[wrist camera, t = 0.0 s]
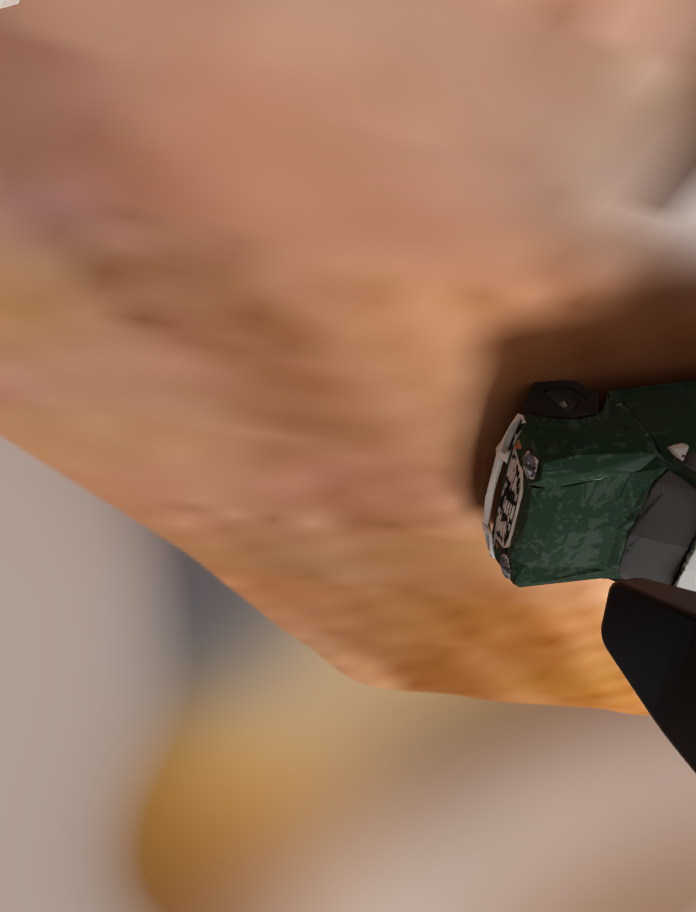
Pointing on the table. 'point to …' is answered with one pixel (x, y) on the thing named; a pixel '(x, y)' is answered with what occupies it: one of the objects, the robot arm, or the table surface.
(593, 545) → the miniature car
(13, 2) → the breaker panel
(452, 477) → the table surface
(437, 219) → the table surface
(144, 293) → the table surface
